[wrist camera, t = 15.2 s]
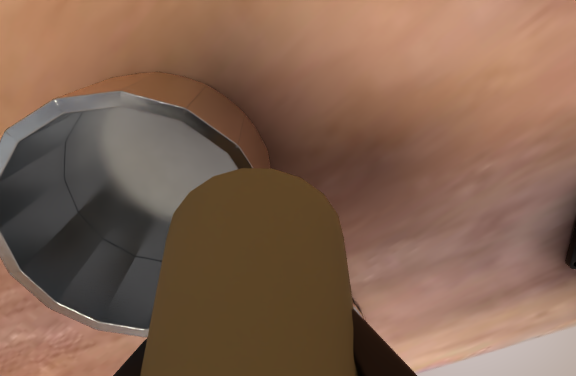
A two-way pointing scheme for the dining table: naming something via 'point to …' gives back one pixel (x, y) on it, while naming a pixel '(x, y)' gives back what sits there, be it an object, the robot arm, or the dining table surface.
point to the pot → (112, 189)
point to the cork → (252, 283)
